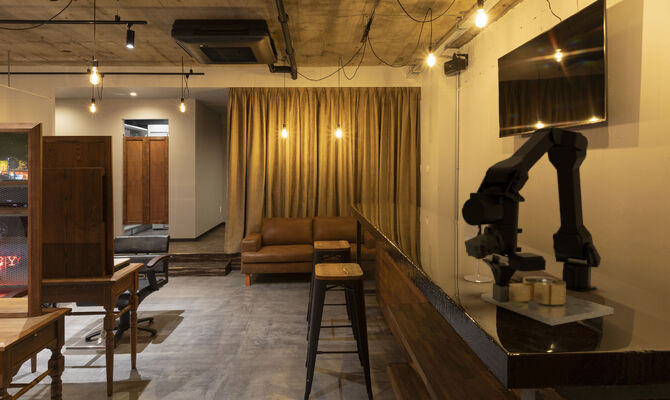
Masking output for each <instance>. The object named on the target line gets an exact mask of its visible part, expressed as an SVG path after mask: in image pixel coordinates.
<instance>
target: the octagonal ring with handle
mask: <svg viewBox="0 0 670 400" xmlns="http://www.w3.org/2000/svg"><path fill="white" fill-rule="evenodd" d="M536 277H542V276H538V275H537V276H536V275H533V276H532V275H531V276H524V277H523V278H522V283H519V282H517V283H508V284H502V283H495V282H494V283H492V292H493V298H492V299H494V300H496V301H498V302H500V303H506V302H516V301H529V300H530V299H535V300H540V301H539V303H542V304H551V305H557V304H565V301H566V295H567V294H566V293H567V288H566V282H565V281H562V279H558V278H553V277H547V276H544V277H545V278H550V279H552V280H553V283H540V282H537V279H536Z"/></svg>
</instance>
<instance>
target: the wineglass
mask: <svg viewBox="0 0 670 400" xmlns="http://www.w3.org/2000/svg"><path fill="white" fill-rule="evenodd" d="M464 222H465V221H464ZM485 226H490V224H487V225H477V226H471V225H469V224H467V223H466V222H465V223H464V229H463V238H464V240H465V241H467V240H469V239H471V238H473V237H476V236H478V235H482V234H484V228H485ZM475 270H476V271H475V273H474V274H472V275H471V274H467V275H464V276H463V279H464V280H465V281H469V282H472V283H486V284H487V283H490V282H492V281H493V278H491V277H489V276H484V275H483V274H481V273H480V272H481V271H480V259H476V269H475Z"/></svg>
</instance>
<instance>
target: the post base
mask: <svg viewBox="0 0 670 400" xmlns="http://www.w3.org/2000/svg"><path fill="white" fill-rule="evenodd" d="M545 277H546V276H541V277H540V276H538V277H536V279H537V282H540V283H553V280H552V279H550V278H551V277H549V278H545ZM492 298H493V291H492V292H487V293H485V292H484V293H481V294H480V300H483V301H485V302H488V303H491V304H493V305H496V306H498V307H502V308H504V309H506V310H509V311H512V312H515V313H517V314H520V315H522V316H525V317H527V318H531V319H533V320H536V321H539V322H541V323H544V324H547V325H549V326H556V325H563V324H567V323H573V322H578V321H583V320H589V319H595V318H598V317H606V316H610V314H611V315H614V314H615V313H614V311H615V310H614V309H615V308H613V307H610V306H607V305H604V304H600V303H596V302H593V301H590V300H586V299H582V298H579V297H576V296H571V295H567V294H566V301H565V304H557V305H551V304H542V303H539V301H540V300H535V299H530V300H529V301H516V302H506V303H500V302H498V301H496V300H494V299H492Z"/></svg>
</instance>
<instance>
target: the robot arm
mask: <svg viewBox="0 0 670 400" xmlns="http://www.w3.org/2000/svg"><path fill="white" fill-rule="evenodd" d="M588 146H589V141H588V138H587V137H586V136H585V135H583V133H582V132H580V131H572V130H568V129H562V128H560V127H559V126H557V127H556V126H547V127H539V128H537V129H536V130H534V131H533V133H532V135H531V136H529V138H528V139H527V140H526V141H525V142H524V143H523V144H522V145H521V146H519V148H518V149H517V150H516V151H515V152H514V153H513V154H511V156H510V157H508V158H505V159H503V160H500V161H498V162H496V163H494V164H493V165H491V166H490V167H488V169H486V172H485V175H484V177H483V179H482V181H481V183H480V185H479V186H478V189H477V191H476V192H470V193H469V198H468V199H467V200H465V202H464V204H463V206H462V208H461V216H462V219H463V220H464V222H466V223H467V224H469V225H471V226H477V225H487V224H490V226H485V228H484V234H482V235H478V236H476V237H473V238H471V239H469V240H467V241H466V240H465V241H464V246H465V253H467V256H468V257H472V258H475V260H477V259H479V260H481V261H482V262H483V263H484V264H486V265H487V266H488V267H489V268H490V270H491V273H492V275H493V280H494V283H502V284H509V282H510V281H511V279H512V277H513V276H514V275H515V273H516V272H517V271H518V272H538V271H546V260H547V259H545V257H544V256H543V255H539V254H536V253H533V252H522V247H521V246H518V234H523V228H520V227H519V217H520V216H519V214H520V203H523V202H525V201H526V199H525V197H524V196H523V195H522V194H521V193H520V191H521V190H522V189H523V188H524V187H525V185H526V183H527V182H528V180H529V179H530V175H529V172H530V170H531V169H532V168H533V167H534V166H535V165H536V164H537V163H538V161H540V160H541V159H542V157H543V156H544V155H545V154H546V153H547V154H546V155H547V158H548V159H547V160H548V162H549V163H551V165H552V167H553V168H555V170H556V179H557V180H556V181H557V194H558V205H559V206H558V209H559V219H560V227H558V230H557V231H556V232H554V233H553V235H552V242H553V246H552V248H553V253H554V256H555V258H554V259H555V262H556V263H563V264H562V265H563V266H562V271H561V272H562V273H561V274H562V275H561V280H562V281H565V282H566V289H570V290H574V291H579V292H584V291H591V290H597V286H594V285H591V283H592V282H591V281H592V280H591V279H592V268H599V267H600V264H601V260H602V258H601V256H600V254H599V252H598V250H597V248H596V246H595V244H594V242H593V235H592V234H591V232H590V231H589V229H588V228H587V227H586V226H585V225H584V215H583V201H582V186H581V172H580V168H581V166H582V164H583V163H584V161H585V160H586V158H587V152H588V151H587V150H588Z"/></svg>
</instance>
